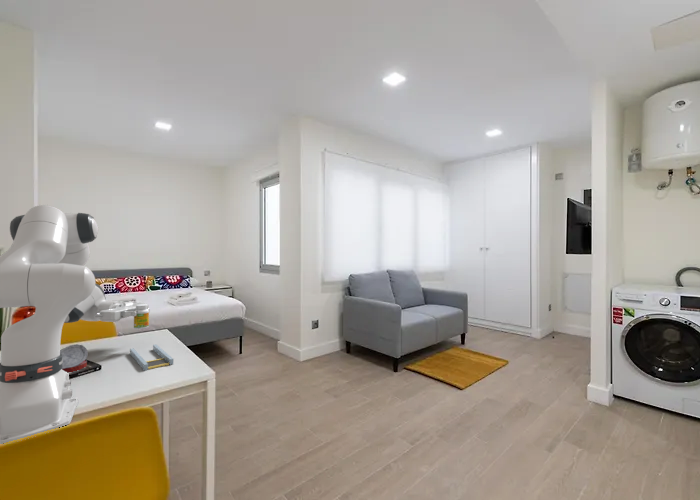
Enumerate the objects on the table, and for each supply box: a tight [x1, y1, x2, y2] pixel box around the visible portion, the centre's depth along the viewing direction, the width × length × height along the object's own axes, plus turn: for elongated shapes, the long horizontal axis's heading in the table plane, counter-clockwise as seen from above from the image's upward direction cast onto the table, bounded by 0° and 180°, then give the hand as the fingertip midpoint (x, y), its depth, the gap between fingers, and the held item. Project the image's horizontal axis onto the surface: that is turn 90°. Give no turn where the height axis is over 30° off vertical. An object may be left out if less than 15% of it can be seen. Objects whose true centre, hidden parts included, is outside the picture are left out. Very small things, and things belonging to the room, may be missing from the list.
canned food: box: [60, 344, 89, 372], centre depth 113 cm, size 11×10×10 cm
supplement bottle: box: [133, 303, 150, 330], centre depth 138 cm, size 5×5×10 cm
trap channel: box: [129, 344, 174, 371], centre depth 127 cm, size 24×9×2 cm, turn 44°
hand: (142, 312), depth 138 cm, fingers closed on supplement bottle, 5 cm apart
